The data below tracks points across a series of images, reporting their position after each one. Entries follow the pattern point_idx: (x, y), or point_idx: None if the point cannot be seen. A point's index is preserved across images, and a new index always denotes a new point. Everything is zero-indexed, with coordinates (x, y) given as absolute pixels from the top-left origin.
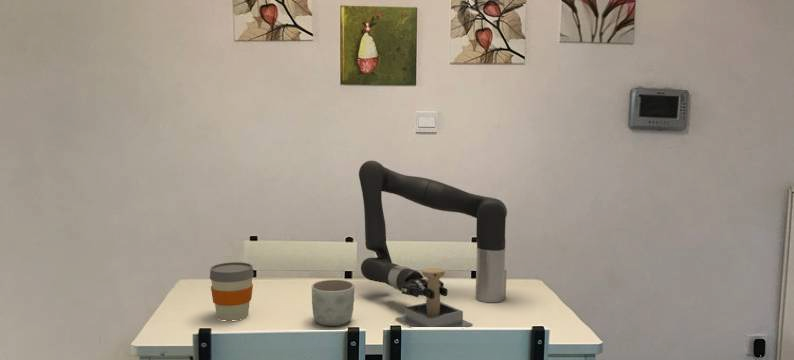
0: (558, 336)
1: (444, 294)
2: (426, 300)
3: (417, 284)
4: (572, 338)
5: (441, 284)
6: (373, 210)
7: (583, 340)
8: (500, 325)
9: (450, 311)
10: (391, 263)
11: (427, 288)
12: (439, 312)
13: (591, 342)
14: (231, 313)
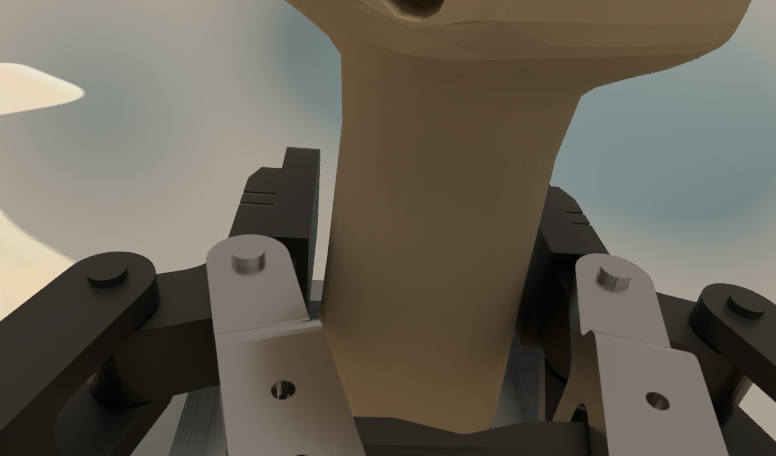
0: (13, 108)
1: (317, 219)
2: (492, 420)
3: (702, 436)
4: (4, 88)
5: (153, 269)
6: None
7: (3, 74)
8: (19, 251)
9: (195, 410)
10: None
11: (529, 263)
12: None
13: (8, 64)
14: None
